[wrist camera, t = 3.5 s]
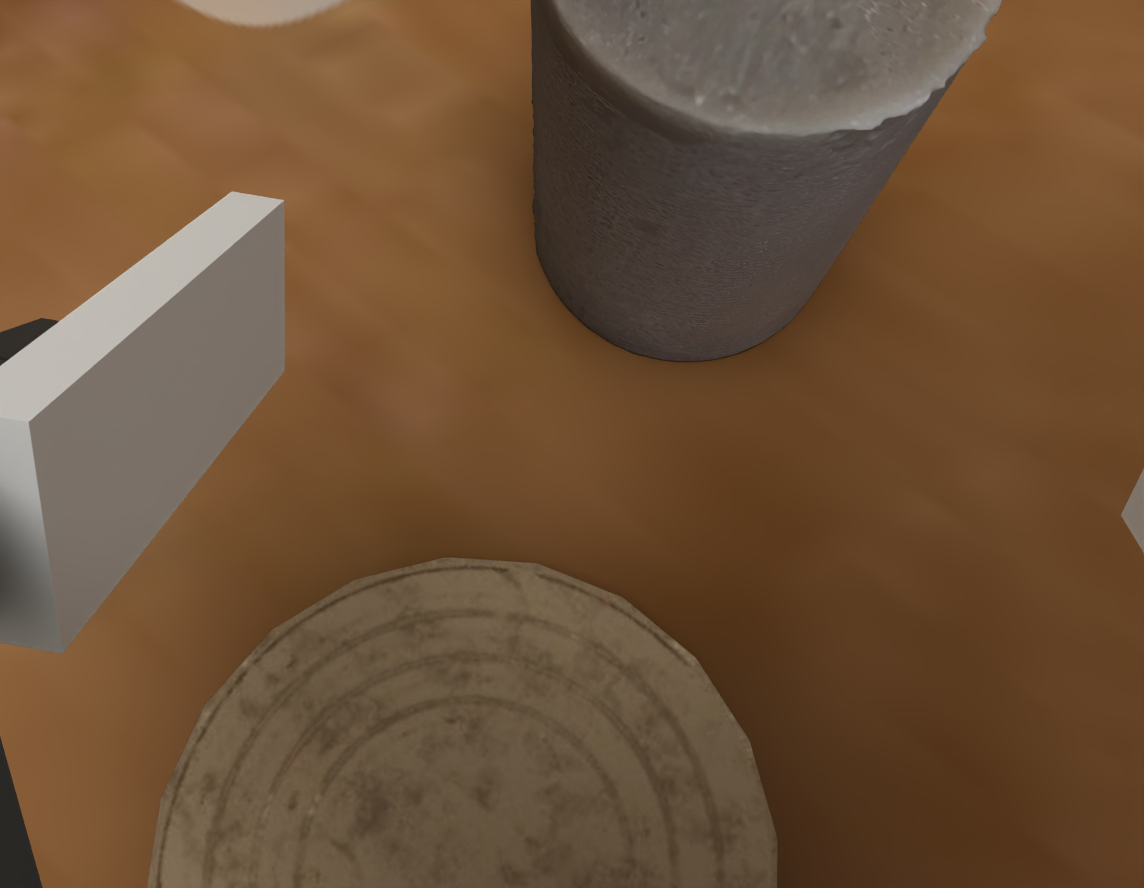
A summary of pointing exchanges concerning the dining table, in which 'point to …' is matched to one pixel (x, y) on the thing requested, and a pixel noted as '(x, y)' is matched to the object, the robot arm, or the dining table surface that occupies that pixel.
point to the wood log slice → (466, 748)
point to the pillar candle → (722, 152)
